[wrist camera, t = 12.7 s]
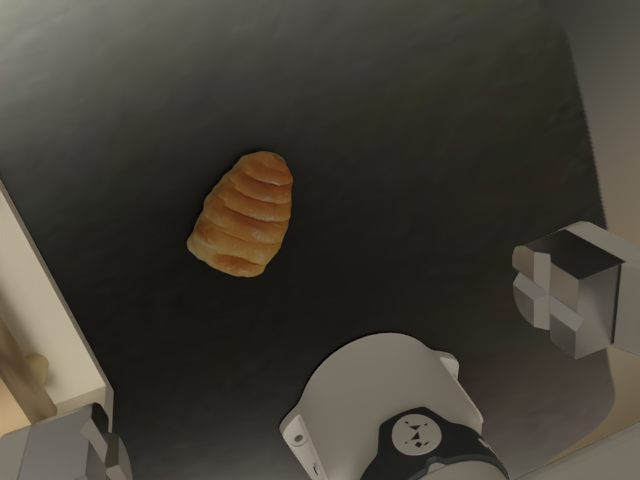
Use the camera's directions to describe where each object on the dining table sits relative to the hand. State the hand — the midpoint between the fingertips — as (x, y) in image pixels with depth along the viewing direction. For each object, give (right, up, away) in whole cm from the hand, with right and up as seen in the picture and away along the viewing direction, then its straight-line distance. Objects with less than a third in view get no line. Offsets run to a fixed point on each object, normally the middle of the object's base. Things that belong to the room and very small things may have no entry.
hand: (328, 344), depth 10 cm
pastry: (-6, +4, +30) cm, 31 cm away
